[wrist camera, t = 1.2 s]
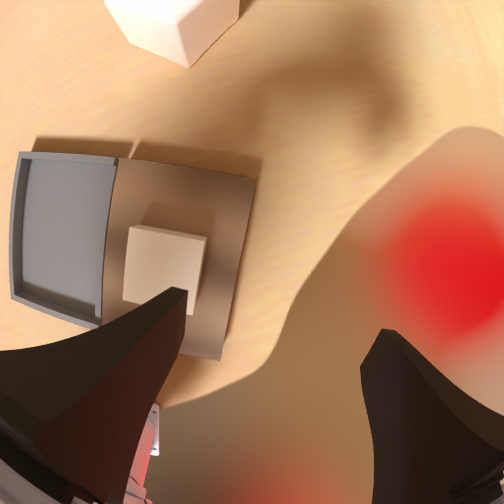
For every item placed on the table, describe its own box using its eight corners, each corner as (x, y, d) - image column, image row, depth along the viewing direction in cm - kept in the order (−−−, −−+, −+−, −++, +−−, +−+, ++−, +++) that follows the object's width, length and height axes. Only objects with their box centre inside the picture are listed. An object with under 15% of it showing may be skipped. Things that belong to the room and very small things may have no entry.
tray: (106, 323, 21) (98, 331, 20) (21, 293, 20) (11, 298, 18) (123, 160, 19) (114, 157, 17) (30, 153, 18) (19, 151, 16)
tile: (196, 304, 20) (192, 315, 18) (131, 290, 19) (122, 299, 17) (207, 237, 19) (204, 241, 17) (139, 224, 18) (129, 227, 16)
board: (220, 348, 22) (220, 360, 21) (111, 324, 21) (102, 334, 19) (254, 181, 20) (256, 179, 18) (129, 161, 19) (119, 157, 17)
